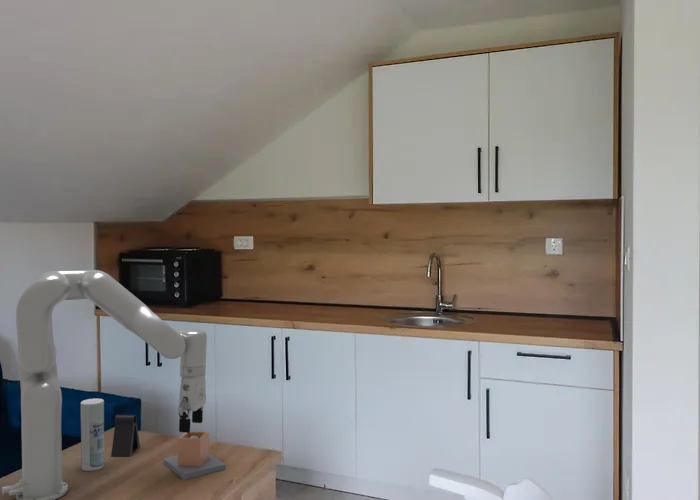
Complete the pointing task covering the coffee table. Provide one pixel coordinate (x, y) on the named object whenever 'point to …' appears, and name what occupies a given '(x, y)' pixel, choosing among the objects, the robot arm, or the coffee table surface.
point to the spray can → (92, 434)
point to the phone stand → (125, 436)
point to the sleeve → (193, 448)
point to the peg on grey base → (194, 471)
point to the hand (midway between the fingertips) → (191, 427)
